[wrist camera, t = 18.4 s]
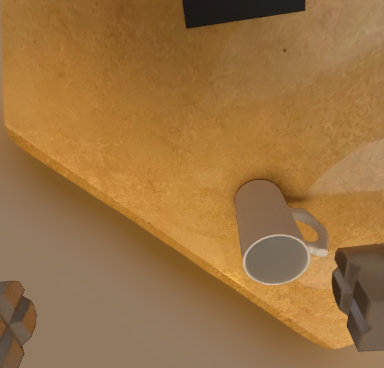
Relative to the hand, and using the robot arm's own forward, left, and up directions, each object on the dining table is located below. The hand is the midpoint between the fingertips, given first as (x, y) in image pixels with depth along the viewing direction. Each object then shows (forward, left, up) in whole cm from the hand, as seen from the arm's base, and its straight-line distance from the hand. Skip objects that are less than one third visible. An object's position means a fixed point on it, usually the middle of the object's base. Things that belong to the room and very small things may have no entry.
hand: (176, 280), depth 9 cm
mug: (+8, -18, -32) cm, 38 cm away
